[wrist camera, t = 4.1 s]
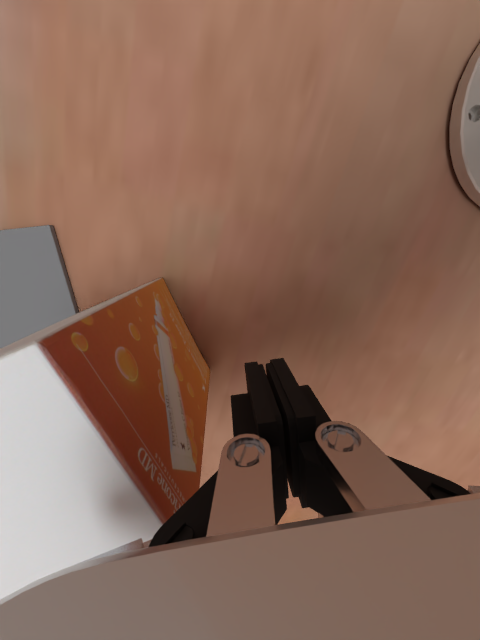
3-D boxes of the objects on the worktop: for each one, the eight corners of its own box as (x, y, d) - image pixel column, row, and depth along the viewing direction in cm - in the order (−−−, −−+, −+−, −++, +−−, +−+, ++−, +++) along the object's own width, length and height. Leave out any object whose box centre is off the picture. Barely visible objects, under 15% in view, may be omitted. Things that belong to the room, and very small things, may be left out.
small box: (212, 369, 20) (198, 572, 8) (138, 400, 20) (9, 644, 8) (163, 273, 18) (31, 338, 5) (81, 309, 18) (-225, 449, 6)
